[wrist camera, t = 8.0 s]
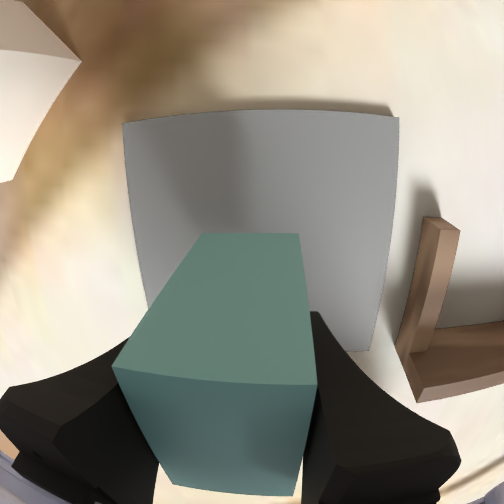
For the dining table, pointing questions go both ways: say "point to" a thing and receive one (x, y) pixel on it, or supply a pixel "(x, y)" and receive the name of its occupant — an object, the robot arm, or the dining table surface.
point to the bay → (446, 339)
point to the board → (272, 198)
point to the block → (227, 366)
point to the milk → (27, 79)
